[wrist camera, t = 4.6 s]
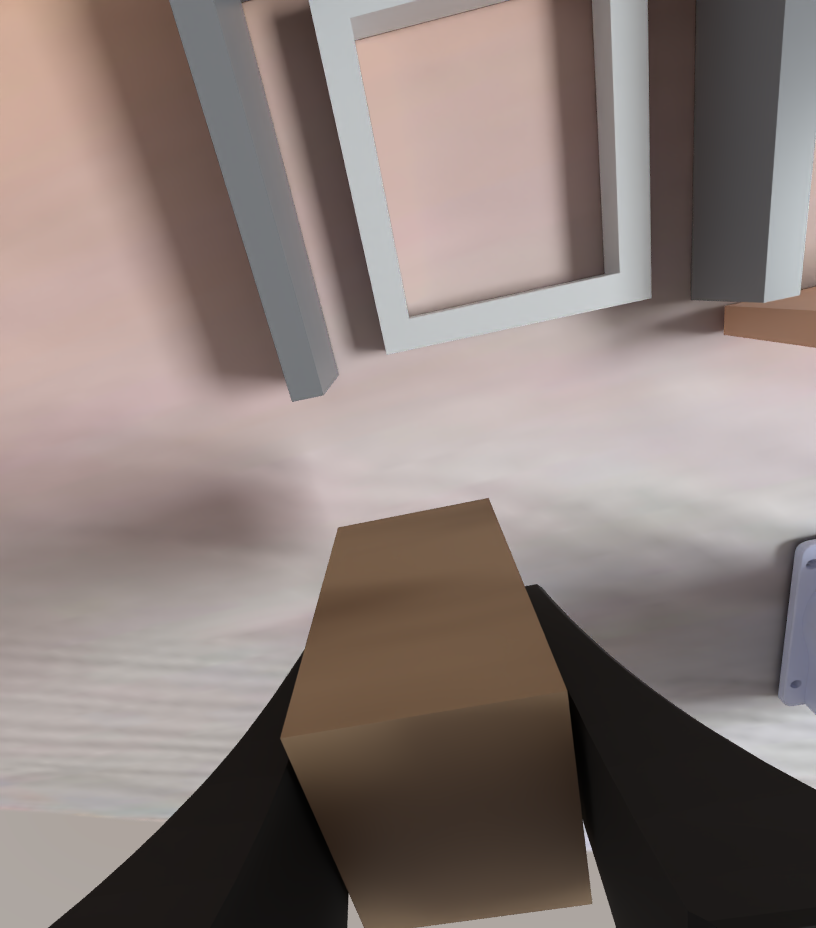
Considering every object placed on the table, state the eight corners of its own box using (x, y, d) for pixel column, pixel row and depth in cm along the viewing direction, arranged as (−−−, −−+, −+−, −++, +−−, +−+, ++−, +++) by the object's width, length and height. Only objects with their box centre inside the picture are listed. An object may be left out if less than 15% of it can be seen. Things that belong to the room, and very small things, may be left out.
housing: (719, 294, 16) (800, 295, 13) (313, 380, 17) (292, 401, 14) (738, -185, 12) (865, -363, 9) (195, -34, 13) (125, -143, 10)
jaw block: (513, 647, 13) (592, 903, 8) (381, 670, 14) (366, 933, 8) (488, 498, 12) (566, 690, 6) (338, 527, 12) (280, 738, 6)
